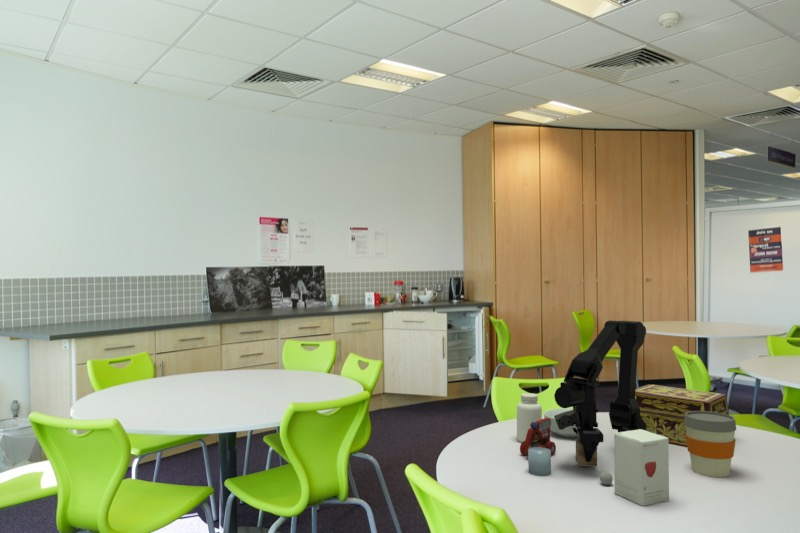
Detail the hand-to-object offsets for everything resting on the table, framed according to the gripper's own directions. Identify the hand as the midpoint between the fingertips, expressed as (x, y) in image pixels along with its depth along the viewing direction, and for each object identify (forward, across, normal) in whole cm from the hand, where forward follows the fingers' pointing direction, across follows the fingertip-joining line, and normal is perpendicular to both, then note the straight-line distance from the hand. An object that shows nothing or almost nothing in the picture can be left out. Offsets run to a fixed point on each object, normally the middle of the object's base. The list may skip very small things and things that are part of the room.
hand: (586, 458), depth 158 cm
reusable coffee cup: (+2, 0, +33) cm, 33 cm away
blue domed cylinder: (+2, +7, -13) cm, 15 cm away
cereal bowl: (+2, -33, 0) cm, 33 cm away
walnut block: (+1, 0, 0) cm, 1 cm away
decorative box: (+3, -34, +34) cm, 48 cm away
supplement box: (+2, +21, +10) cm, 23 cm away
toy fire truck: (+2, -8, -13) cm, 15 cm away
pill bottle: (+2, -23, -14) cm, 27 cm away
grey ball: (0, +14, +3) cm, 14 cm away
